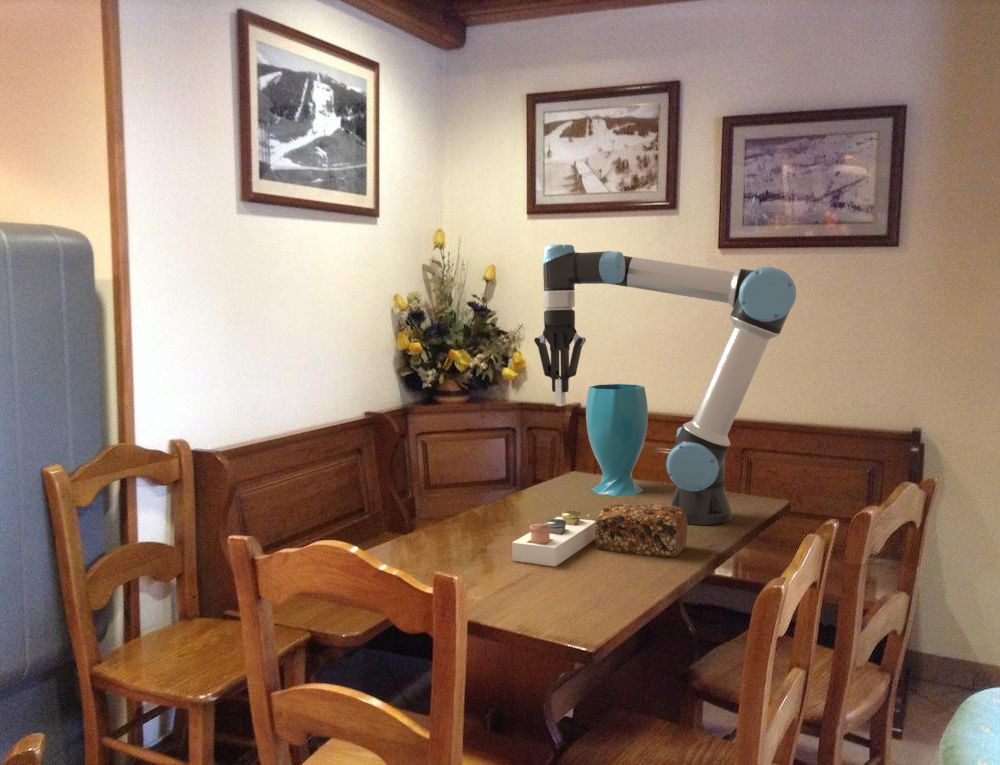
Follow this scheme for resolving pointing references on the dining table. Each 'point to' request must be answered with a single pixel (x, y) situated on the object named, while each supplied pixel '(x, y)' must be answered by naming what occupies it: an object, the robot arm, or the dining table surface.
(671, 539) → the bread
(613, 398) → the vase
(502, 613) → the dining table surface
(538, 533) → the terracotta plug
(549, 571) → the dining table surface
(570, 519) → the brass plug
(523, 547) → the slab
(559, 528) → the grey plug
